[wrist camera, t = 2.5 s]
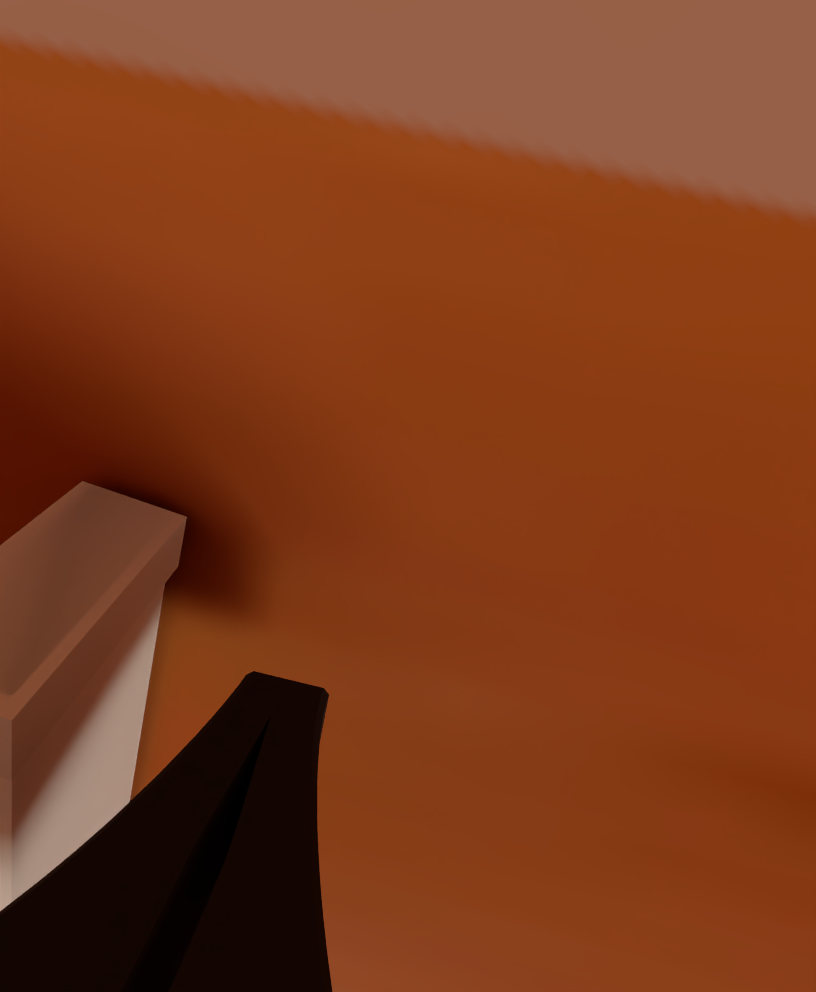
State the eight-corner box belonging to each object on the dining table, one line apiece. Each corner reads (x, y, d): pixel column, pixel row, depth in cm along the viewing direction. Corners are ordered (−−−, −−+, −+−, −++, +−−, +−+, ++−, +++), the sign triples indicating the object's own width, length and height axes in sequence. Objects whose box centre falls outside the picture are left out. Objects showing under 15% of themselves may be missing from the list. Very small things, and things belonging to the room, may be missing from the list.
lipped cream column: (134, 821, 16) (10, 1048, 12) (60, 798, 16) (-90, 1019, 12) (186, 517, 12) (12, 720, 7) (81, 480, 12) (-155, 666, 7)
